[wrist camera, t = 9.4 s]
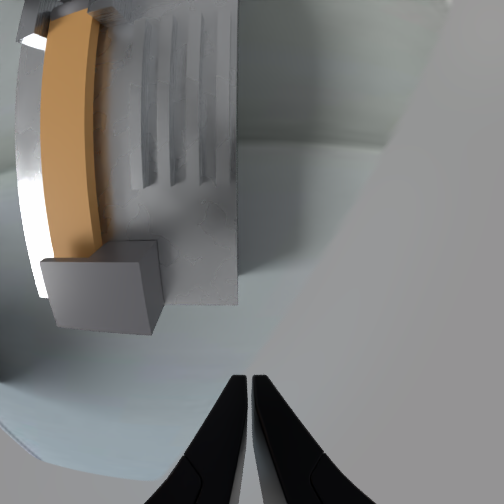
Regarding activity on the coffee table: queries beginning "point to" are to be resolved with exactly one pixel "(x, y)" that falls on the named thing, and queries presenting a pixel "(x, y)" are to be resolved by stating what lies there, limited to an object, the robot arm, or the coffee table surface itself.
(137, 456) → the coffee table surface
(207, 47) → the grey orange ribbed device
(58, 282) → the block
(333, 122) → the coffee table surface
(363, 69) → the coffee table surface
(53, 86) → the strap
